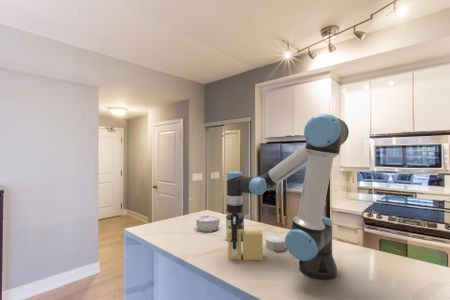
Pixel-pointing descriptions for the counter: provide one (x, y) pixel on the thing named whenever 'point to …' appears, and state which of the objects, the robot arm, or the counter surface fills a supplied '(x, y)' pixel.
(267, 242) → the ramekin
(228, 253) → the stub
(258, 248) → the tall yellow box
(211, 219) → the paper bowls
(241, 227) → the coffee can
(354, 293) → the counter surface
